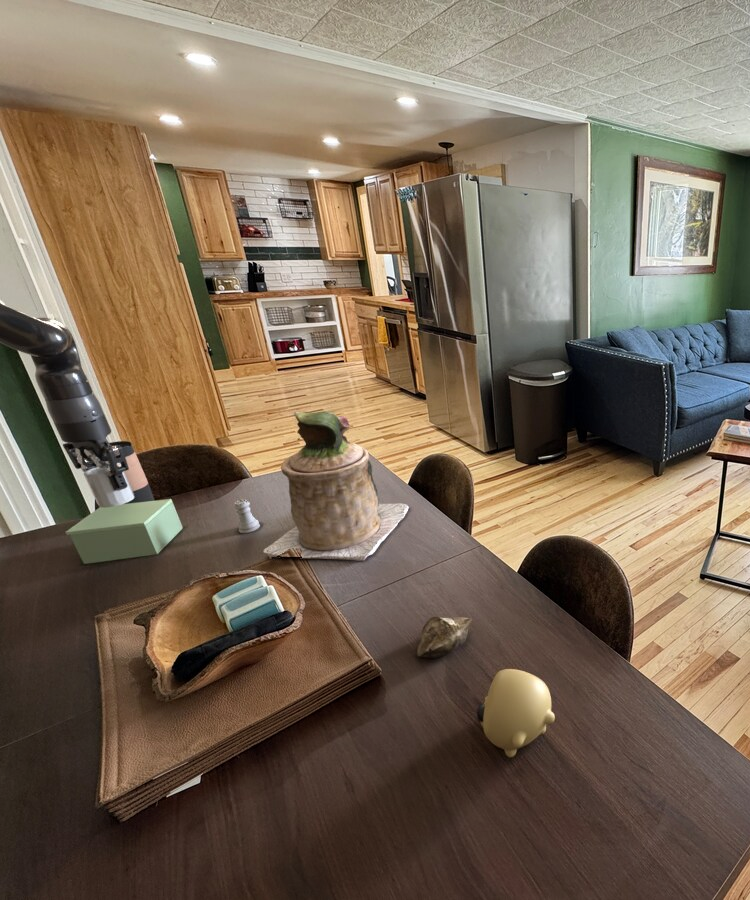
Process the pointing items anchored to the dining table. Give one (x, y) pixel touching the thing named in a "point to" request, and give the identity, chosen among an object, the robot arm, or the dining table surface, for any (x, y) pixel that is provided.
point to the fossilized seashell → (442, 636)
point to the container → (129, 539)
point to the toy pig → (515, 710)
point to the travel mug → (135, 474)
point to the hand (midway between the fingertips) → (110, 487)
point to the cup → (107, 488)
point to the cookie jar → (333, 495)
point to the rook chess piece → (246, 517)
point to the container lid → (120, 517)
